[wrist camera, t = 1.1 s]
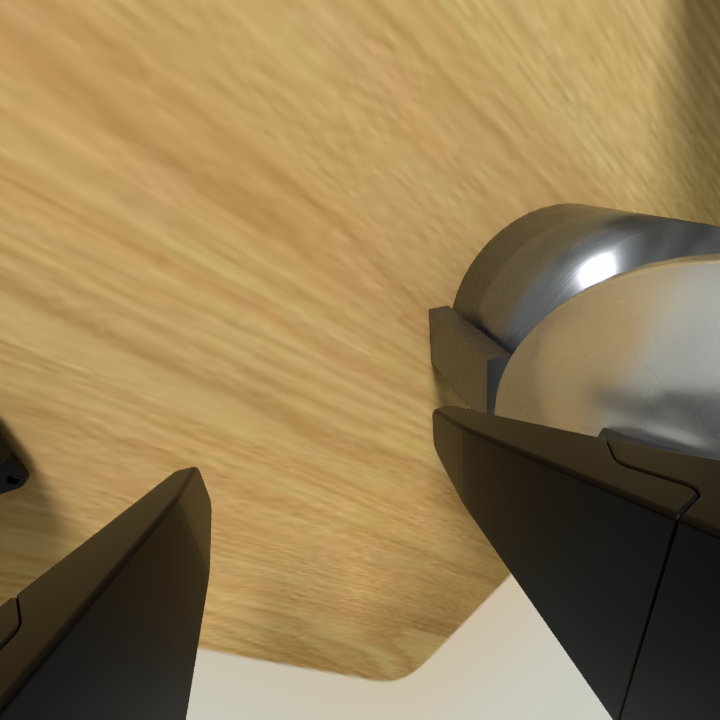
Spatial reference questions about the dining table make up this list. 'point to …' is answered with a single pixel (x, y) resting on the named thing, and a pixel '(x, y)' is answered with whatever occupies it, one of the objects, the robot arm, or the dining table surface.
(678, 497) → the robot arm
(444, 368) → the pot
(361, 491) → the dining table surface
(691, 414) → the lid
